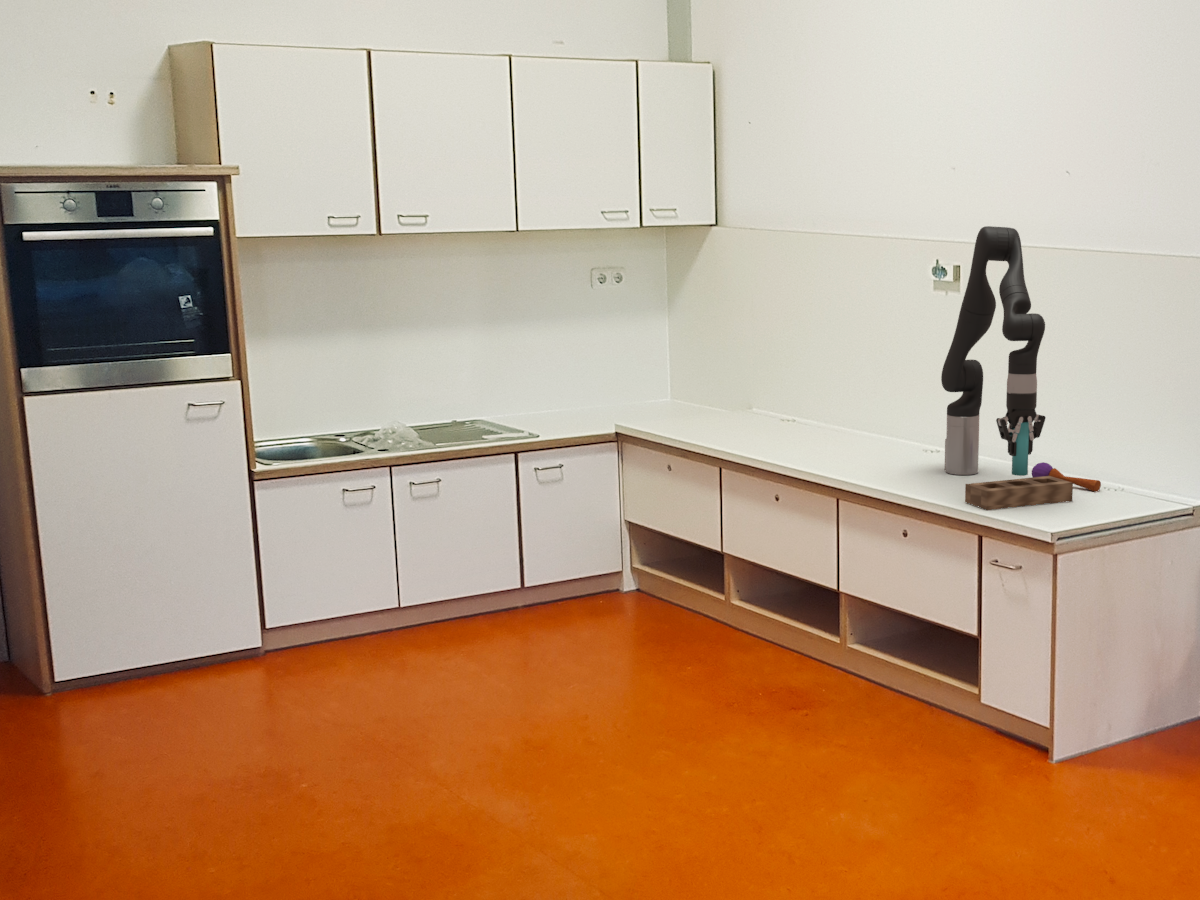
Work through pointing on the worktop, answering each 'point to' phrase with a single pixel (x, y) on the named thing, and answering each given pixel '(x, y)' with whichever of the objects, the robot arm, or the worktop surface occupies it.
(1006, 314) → the robot arm
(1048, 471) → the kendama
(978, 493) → the bore block
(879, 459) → the worktop surface
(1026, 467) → the pin
